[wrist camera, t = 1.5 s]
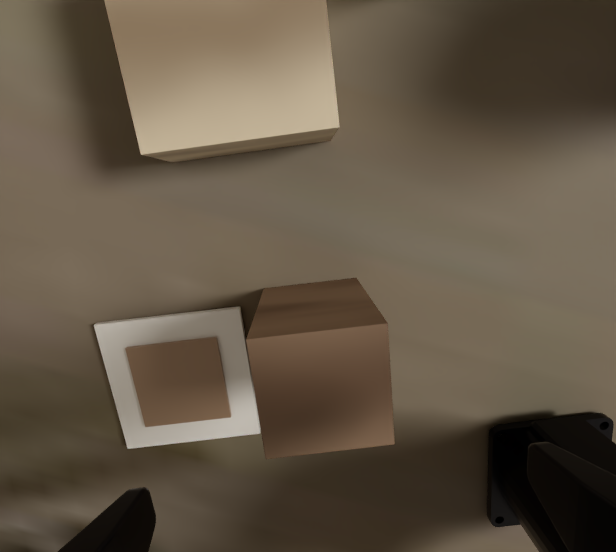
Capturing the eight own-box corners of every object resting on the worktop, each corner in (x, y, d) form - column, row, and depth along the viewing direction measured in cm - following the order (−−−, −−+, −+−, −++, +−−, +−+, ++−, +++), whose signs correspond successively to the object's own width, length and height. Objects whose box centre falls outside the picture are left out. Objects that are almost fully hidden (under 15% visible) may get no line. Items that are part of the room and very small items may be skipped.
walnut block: (362, 361, 18) (394, 444, 12) (276, 371, 18) (265, 459, 12) (356, 277, 17) (387, 323, 11) (263, 288, 17) (246, 339, 11)
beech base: (329, 141, 15) (339, 127, 12) (175, 163, 15) (140, 154, 12) (309, -43, 14) (313, -120, 10) (135, -20, 14) (83, -89, 10)
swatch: (260, 429, 18) (259, 435, 18) (130, 444, 18) (125, 451, 18) (240, 306, 17) (238, 309, 16) (97, 322, 17) (91, 326, 16)
